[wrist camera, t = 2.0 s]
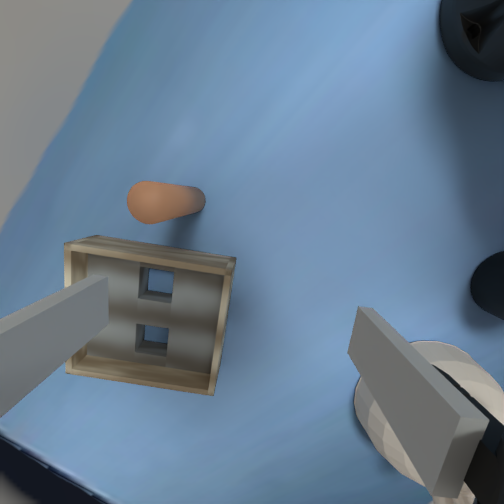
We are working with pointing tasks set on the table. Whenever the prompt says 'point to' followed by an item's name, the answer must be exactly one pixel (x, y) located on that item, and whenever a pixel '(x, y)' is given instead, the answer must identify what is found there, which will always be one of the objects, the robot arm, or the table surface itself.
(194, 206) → the peg
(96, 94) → the table surface
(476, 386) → the kettle
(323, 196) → the table surface
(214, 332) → the box
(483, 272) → the mug
